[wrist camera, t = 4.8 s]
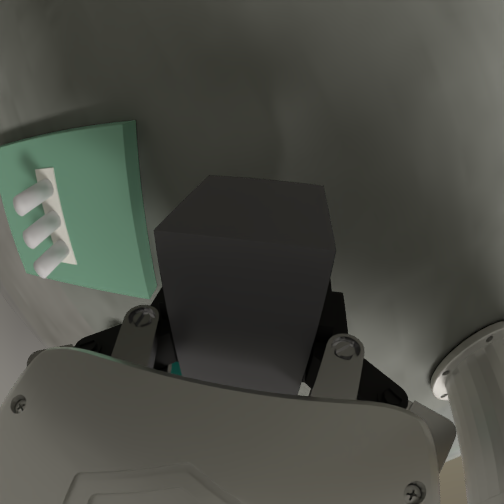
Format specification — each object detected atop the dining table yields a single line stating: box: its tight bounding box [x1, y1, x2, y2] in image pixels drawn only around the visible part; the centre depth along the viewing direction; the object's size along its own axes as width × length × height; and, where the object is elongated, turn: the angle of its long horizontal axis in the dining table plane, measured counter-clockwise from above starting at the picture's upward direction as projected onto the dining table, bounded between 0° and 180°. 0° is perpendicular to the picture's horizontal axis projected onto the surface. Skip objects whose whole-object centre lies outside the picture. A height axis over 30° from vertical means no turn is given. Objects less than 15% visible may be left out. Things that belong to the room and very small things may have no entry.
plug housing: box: [154, 175, 336, 395], centre depth 11 cm, size 4×9×5 cm, turn 178°
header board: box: [0, 120, 157, 299], centre depth 16 cm, size 14×12×4 cm
